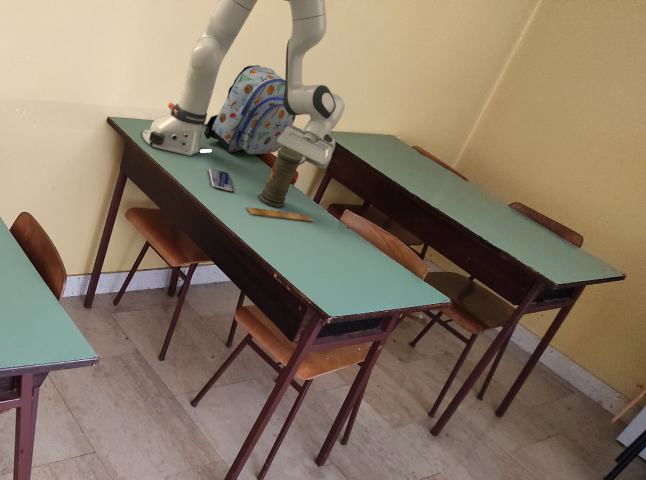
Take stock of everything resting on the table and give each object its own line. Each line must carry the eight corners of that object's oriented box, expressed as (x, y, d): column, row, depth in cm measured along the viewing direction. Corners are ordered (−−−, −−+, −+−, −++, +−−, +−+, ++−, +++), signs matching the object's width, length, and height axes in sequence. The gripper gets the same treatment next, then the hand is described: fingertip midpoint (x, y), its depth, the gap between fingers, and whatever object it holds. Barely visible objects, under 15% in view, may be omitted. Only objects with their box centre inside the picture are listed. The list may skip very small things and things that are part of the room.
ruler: (251, 214, 202) (252, 212, 202) (247, 208, 205) (248, 206, 204) (311, 222, 212) (312, 220, 211) (306, 216, 215) (307, 214, 214)
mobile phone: (228, 172, 223) (233, 190, 211) (228, 174, 223) (232, 192, 212) (209, 167, 221) (212, 184, 209) (208, 169, 222) (212, 187, 210)
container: (284, 201, 219) (303, 154, 209) (281, 210, 212) (302, 162, 202) (260, 192, 219) (279, 145, 209) (257, 201, 212) (276, 152, 202)
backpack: (243, 167, 234) (272, 85, 216) (195, 138, 245) (220, 57, 226) (288, 159, 257) (318, 84, 239) (243, 133, 268) (269, 59, 249)
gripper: (288, 118, 218) (267, 148, 216) (339, 142, 213) (318, 173, 211) (288, 128, 224) (268, 158, 222) (337, 152, 219) (317, 183, 217)
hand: (292, 166), depth 217 cm, fingers closed
